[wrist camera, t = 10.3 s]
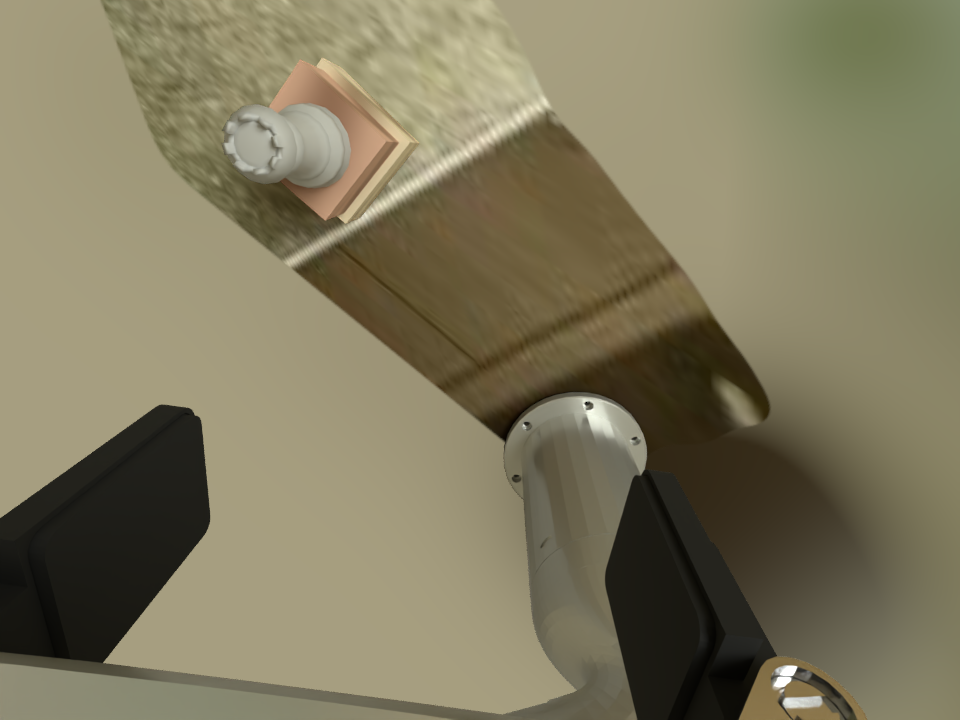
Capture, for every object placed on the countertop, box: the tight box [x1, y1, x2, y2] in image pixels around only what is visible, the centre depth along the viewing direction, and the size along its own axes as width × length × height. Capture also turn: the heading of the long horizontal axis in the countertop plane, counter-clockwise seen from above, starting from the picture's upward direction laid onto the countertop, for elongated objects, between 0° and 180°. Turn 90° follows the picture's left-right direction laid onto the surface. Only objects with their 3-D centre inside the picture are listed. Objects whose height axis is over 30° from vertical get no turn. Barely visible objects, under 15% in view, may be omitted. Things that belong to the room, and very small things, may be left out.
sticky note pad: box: [268, 58, 419, 224], centre depth 32 cm, size 7×7×8 cm
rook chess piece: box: [222, 103, 351, 188], centre depth 25 cm, size 4×4×8 cm
